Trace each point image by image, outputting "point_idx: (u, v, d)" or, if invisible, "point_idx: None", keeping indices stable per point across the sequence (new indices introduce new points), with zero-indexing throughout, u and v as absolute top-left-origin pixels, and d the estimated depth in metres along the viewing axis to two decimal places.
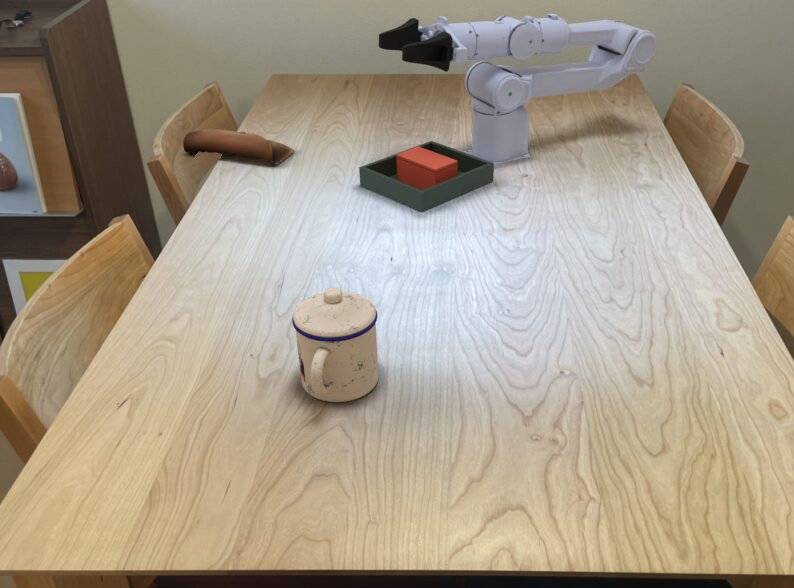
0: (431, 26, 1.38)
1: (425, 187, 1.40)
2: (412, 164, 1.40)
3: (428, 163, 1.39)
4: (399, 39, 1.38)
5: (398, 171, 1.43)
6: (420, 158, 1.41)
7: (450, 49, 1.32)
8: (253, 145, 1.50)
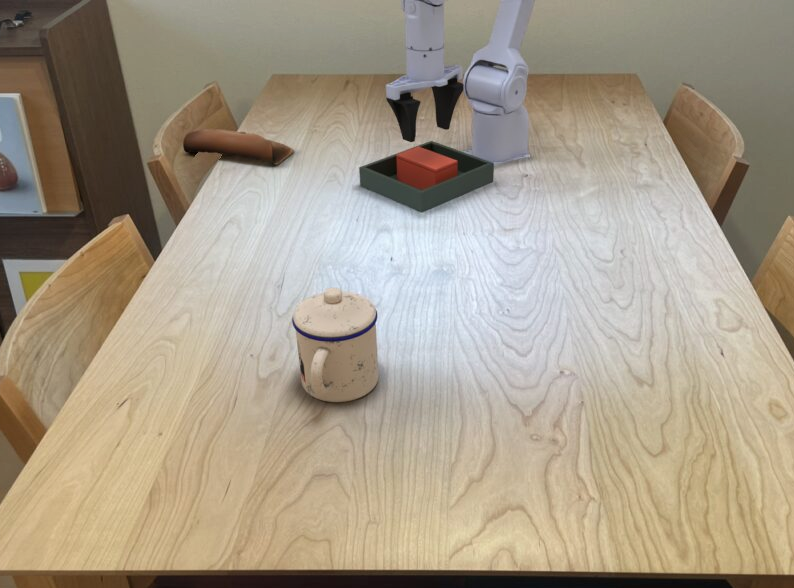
0: None
1: (425, 187, 1.40)
2: (412, 164, 1.40)
3: (428, 163, 1.39)
4: None
5: (398, 171, 1.43)
6: (420, 158, 1.41)
7: None
8: (253, 145, 1.50)
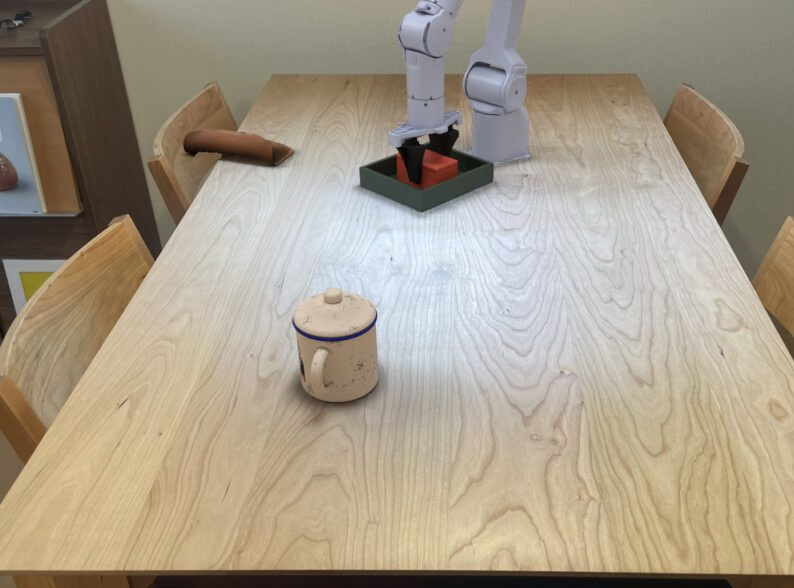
0: (423, 134, 1.35)
1: (425, 187, 1.40)
2: None
3: (429, 163, 1.39)
4: None
5: (398, 171, 1.43)
6: None
7: None
8: (253, 145, 1.50)
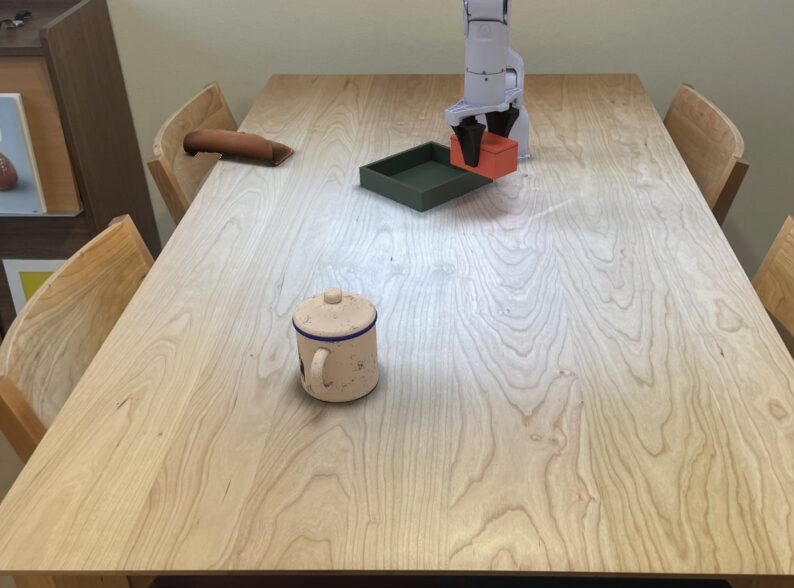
0: (483, 112, 1.24)
1: (482, 171, 1.29)
2: None
3: (487, 145, 1.27)
4: None
5: (452, 154, 1.32)
6: None
7: None
8: (253, 145, 1.50)
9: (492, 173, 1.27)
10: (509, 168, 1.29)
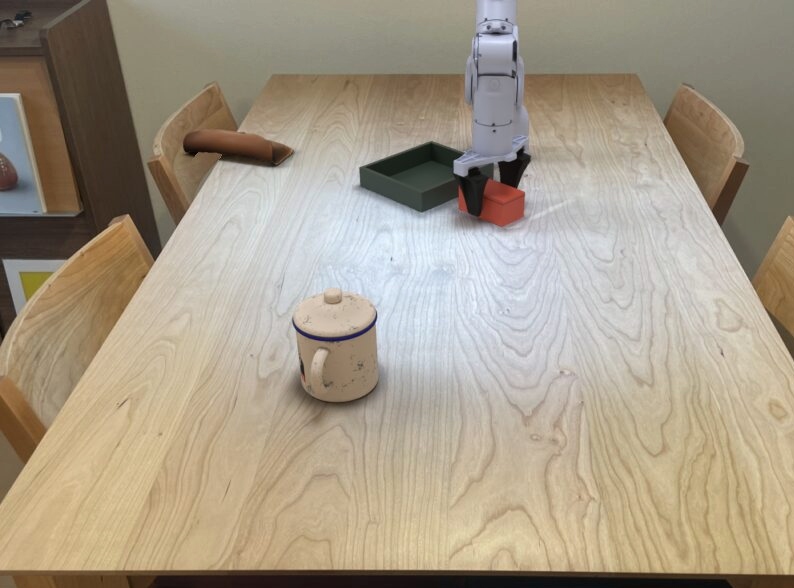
0: None
1: (490, 220, 1.32)
2: None
3: (495, 195, 1.30)
4: None
5: (460, 202, 1.35)
6: (485, 189, 1.32)
7: None
8: (253, 145, 1.50)
9: (499, 222, 1.30)
10: (516, 217, 1.32)
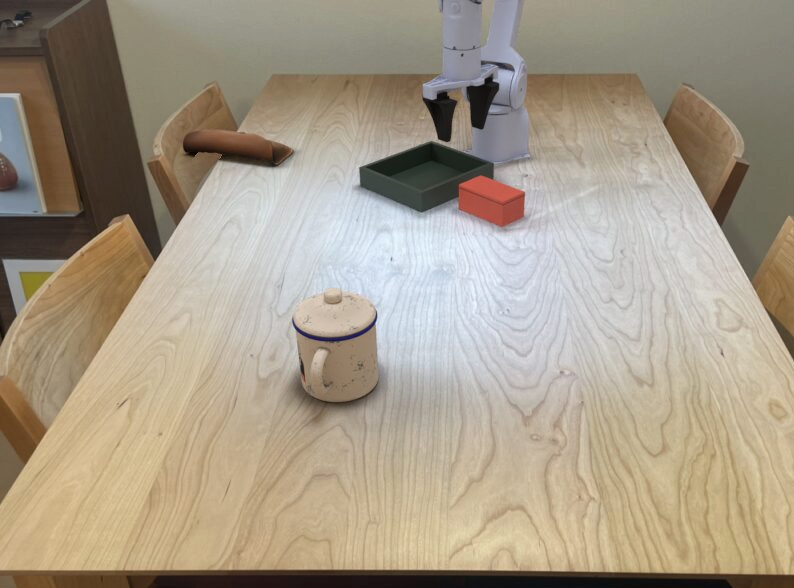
0: (459, 86, 1.30)
1: (490, 220, 1.32)
2: (476, 195, 1.32)
3: (495, 195, 1.30)
4: None
5: (460, 202, 1.35)
6: (485, 189, 1.32)
7: None
8: (253, 145, 1.50)
9: (499, 222, 1.30)
10: (516, 217, 1.32)
